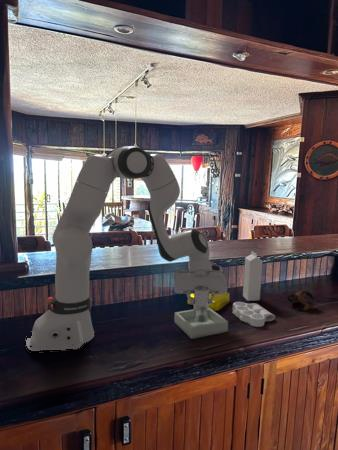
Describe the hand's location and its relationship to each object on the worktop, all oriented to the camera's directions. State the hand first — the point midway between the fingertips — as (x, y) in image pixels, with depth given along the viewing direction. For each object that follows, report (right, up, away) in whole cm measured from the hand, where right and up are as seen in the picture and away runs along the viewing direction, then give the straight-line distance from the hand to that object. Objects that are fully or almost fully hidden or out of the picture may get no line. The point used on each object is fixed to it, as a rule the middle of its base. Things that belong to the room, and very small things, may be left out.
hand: (201, 303), depth 124 cm
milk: (+27, -5, +33) cm, 42 cm away
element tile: (+6, -6, +27) cm, 28 cm away
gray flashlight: (0, -6, +2) cm, 6 cm away
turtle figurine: (+46, -7, +25) cm, 52 cm away
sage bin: (0, -9, +2) cm, 9 cm away
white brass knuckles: (+22, -9, +13) cm, 26 cm away
